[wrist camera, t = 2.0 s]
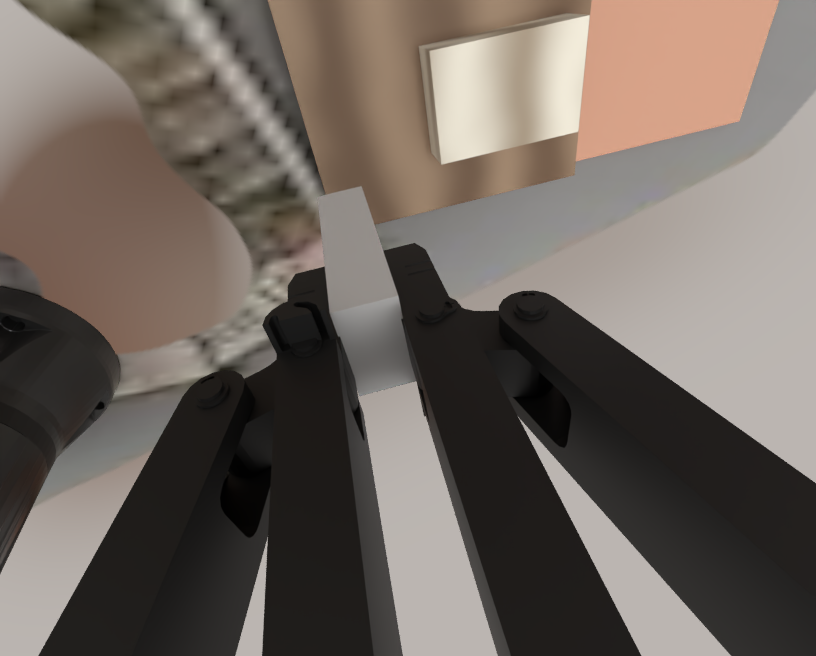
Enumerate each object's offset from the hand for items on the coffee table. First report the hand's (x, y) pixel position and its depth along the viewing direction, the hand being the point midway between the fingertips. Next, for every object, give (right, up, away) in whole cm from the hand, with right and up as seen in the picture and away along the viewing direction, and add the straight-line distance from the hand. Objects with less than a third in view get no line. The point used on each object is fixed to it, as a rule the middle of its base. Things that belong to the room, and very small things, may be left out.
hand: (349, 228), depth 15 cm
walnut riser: (+4, +13, +14) cm, 20 cm away
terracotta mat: (+21, +18, +16) cm, 31 cm away
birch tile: (+7, +12, +12) cm, 18 cm away
